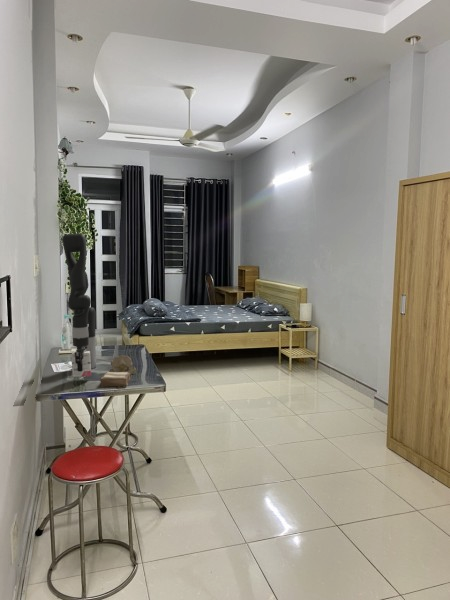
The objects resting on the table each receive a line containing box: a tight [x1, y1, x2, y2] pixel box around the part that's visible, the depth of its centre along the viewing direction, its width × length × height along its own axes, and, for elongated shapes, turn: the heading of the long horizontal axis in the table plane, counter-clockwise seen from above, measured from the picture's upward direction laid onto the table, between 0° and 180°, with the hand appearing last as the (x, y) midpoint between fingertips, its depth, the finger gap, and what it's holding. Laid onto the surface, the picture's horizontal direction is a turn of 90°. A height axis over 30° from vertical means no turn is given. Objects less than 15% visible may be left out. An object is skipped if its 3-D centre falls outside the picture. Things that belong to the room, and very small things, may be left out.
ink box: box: [71, 351, 92, 378], centre depth 228 cm, size 9×5×12 cm, turn 102°
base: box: [99, 371, 132, 387], centre depth 225 cm, size 12×12×4 cm
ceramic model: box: [108, 354, 137, 375], centre depth 244 cm, size 14×11×10 cm
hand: (81, 369), depth 229 cm, fingers closed on ink box, 5 cm apart
